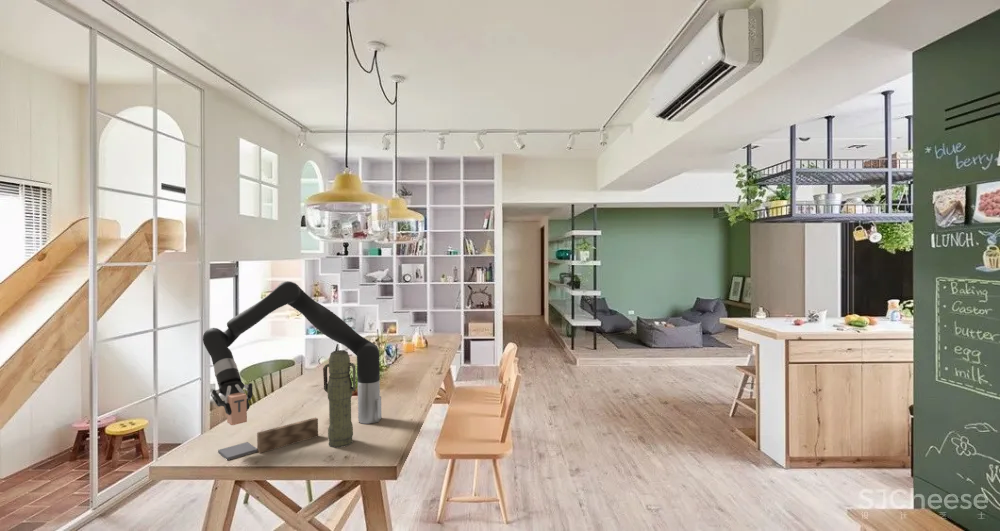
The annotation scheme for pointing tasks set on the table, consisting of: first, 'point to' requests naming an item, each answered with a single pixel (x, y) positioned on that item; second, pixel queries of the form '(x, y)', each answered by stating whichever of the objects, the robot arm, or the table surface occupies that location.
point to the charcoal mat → (237, 450)
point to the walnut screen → (287, 434)
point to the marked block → (237, 408)
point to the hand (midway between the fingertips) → (238, 411)
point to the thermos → (339, 398)
